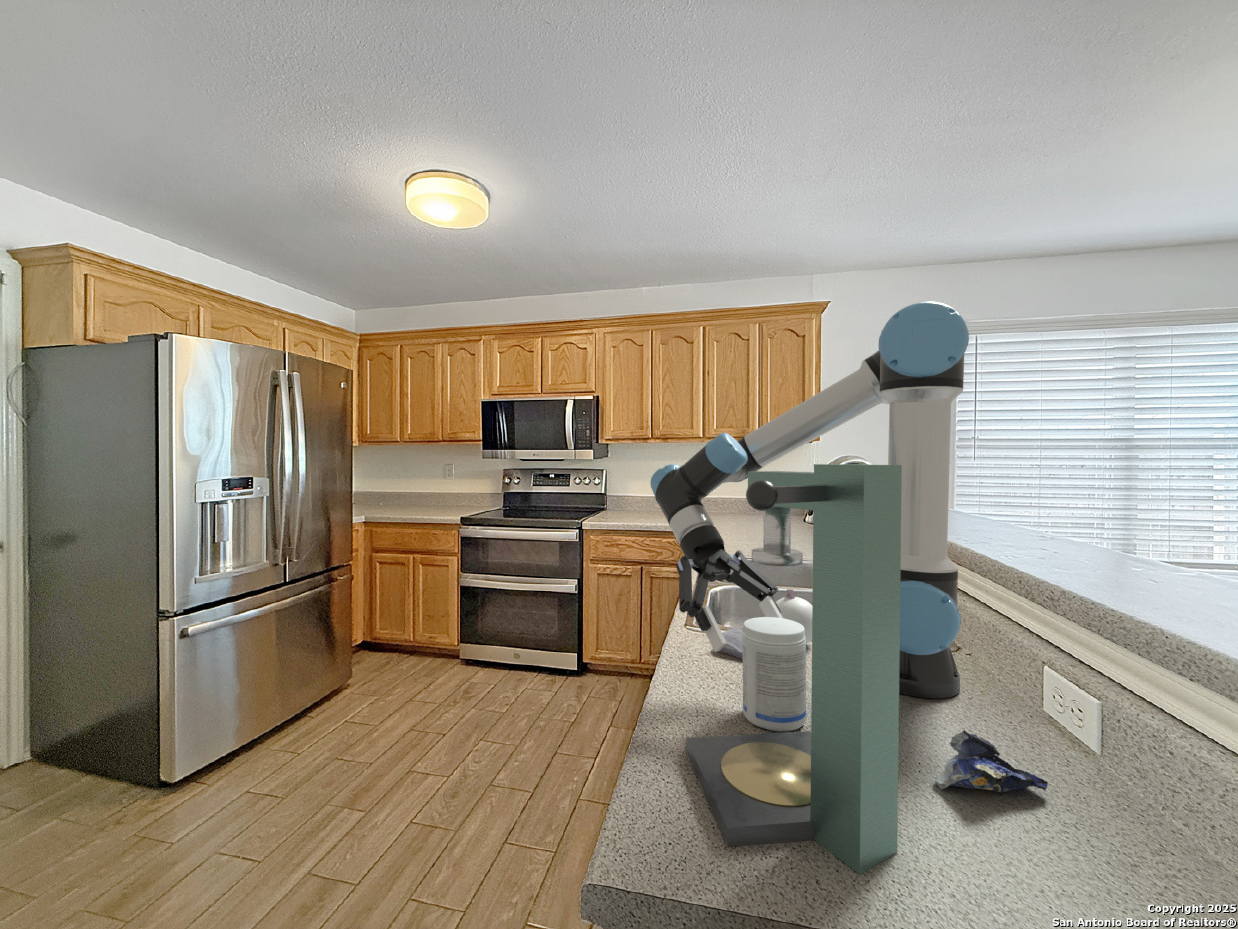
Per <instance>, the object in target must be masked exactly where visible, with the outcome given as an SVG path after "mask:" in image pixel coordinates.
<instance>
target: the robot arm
mask: <svg viewBox="0 0 1238 929" xmlns="http://www.w3.org/2000/svg"><path fill="white" fill-rule="evenodd" d="M969 343H970V333H969V329H968V326H967V324H966V321H965V320H964V317H963V316H962V315H961V314H960V313H959V312H958V310H956V309H954V308H953V307H952V306H950V305H947V304H945V303H941V302H938V301H937V302H936V301H921V302H916V303H911V304H910V305H907V306H905V307H903V308H901V309H900V310H898V311H897V312H895V313H893V315H892V316H891V317H890V318H889V319H888V320H887V322H886V323H885V325H884V327H883V328H882V330H881V333H880V335H879V338H878V350H876V352H874V353H873V354H872V355H870V356H868V357H866V358H865V359H863V360H862V361H861V364H860V367H859V369H857V370H855V371H853V372H852V373H850V374H849V375H847V376H845V377H843V378H841V379H840V380H838V381H837V382H835V383H833V384H832V385H830V386H828V387H826V388H824V389H823V390H821V391H819V392H817V393H816V394H814V395H813V396H811V397H809V398H808V399H806V400H804V401H802V402H801V403H799V404H797V405H795V406H793V407H792V408H790V409H789V410H787V411H786V412H784V413H782V414H780V415H779V416H777V417H775V418H774V419H772V420H770V421H768V422H767V423H765V424H763V425H761V426H760V427H758V428H756V429H754V430H753V431H751V432H749V433H748V434H746V435H744V436H743V437H742V438H740V439H739V438H738V439H735V438H734V437H733V436H732V435H730V434H729V433H727V432H721V433H719V434H718V435H717V436H715V437H714V438H713V439H710V440H709V441H707V443H706V445H704V446H703V447H702V448H700V450H699V451H698V452H696V454H694V455H693V456H692V457H691V458H689V459H688V460H687V461H686V462H685V463H684V464H683V465H682V466H680V465H678V464H675V463H672V464H666V465H664V467H661V468H657V469H656V471H655V472H654V473H653V474H652V476H651V477H650V483H649V484H650V488H651V490H652V492H653V495H654V498H655V502H656V503H657V504H658V505H659V507H660V509H661V511H662V514H663V515H664V517H665V519H666V521H667V523H668V525H669V527H670V529H671V531H672V533H673V535H674V537H675V539H676V542H677V543H678V544H679V547H680V549H681V550H682V553H683V555H682V556H681V557H680V559H679V560H678V561H677V563H676V564H675V567H676V569H677V573H678V575H679V576H678V590H679V592H678V599H679V600H678V601H679V602H678V605H679V606H678V608H679V611H680V613H683V614H684V613H687V615H688V616H689V617H690V618H695V619H694V620H695V621H696V623H697V626H698V627H699V630H701V631H702V632H705V635H706V637H707V639H708V640H709V644H710V645H711V647H712V649H713V651H714V653H717V652H721V651H720V649H721V648H722V647H723V646H724V645H725V644H726V643H727V642H726V640H725V638H724V636H723V634H722V633H723V632H722V630H721V628H720V626H719V625H718V623H717V621H716V619H715V617H714V615H713V612H712V611H711V609H710V607H709V605H705V606H704V602H705V600H706V599H705V598H706V595H707V589H708V585H709V582H710V583H713V582H715V581H721V582H722V581H727V582H728V583H733V584H734V585H736V586H738V587H739V588H740V589H741V590H743V591H745V592H746V593H748V594H749V595H751V596H752V597H754V598H755V599H757V600H758V601H760V602H759V604H758V606H759V608H760V609H761V611H762V613H763V615H764V617H775V618H783V617H782V615H781V610H780V608H779V607H778V606H777V603H776V600H775V598H774V595H775V594H776V593H778V592H779V587H778V586H776V584H774V582H772V580H770V579H769V578H768V577H767V576H765V575H764V573H762V572H761V571H760V570H759V569H758V568H757V567H755V565H754V564H753V563H751V562H750V561H749V560H748V559H747V557H746V556H745V555H744V553H743V551H742V550H739V549H738V550H737V551H735V553H732V554H730V553H728V552H727V550H726V548H725V542H724V539H723V538H722V536H721V534H720V532H719V531H718V529H717V527H716V526H715V524H714V522H713V520H712V518H711V517H710V514H709V513H708V511H707V509H706V508H705V506H704V504H703V502H702V500H703V499H705V498H706V497H707V496H709V495H710V494H711V493H712V492H713V491H714V490H716V489H717V488H718V487H720V486H721V485H722V484H726V483H739V482H742V481H744V480H748V471H761V469H762V468H764V467H766V466H768V465H771V463H774V462H775V461H777V460H780V459H781V458H783V457H784V456H787V455H789V454H790V453H792V452H794V451H796V450H797V449H800V448H802V447H803V446H805V445H806V444H809V443H810V442H812V441H814V440H817V438H819V437H822V436H823V435H825V434H827V433H828V432H830V431H832V430H834V429H836V428H838V427H840V426H842V425H844V424H845V423H847V422H848V421H851V420H853V419H855V418H857V417H858V416H859V415H862V414H864V413H866V412H867V411H869V410H871V409H873V408H875V407H877V406H878V405H880V404H886V405H888V406H889V411H888V412H889V413H888V414H889V416H888V421H889V422H888V453H887V458H888V459H887V461H888V462H887V465H902V487H901V573H900V659H899V694H903V695H906V696H911V697H917V698H925V699H945V698H951V697H952V698H953V697H954V696H957V695H958V694H959V693H960V691H961V677H960V674H959V672H958V668H957V664H956V661H955V659H954V656H953V653H952V651H951V647H950V646H951V645H952V644H953V643H954V642H955V641H956V639H957V636H958V635H959V632H960V630H961V624H962V617H961V614H960V610H959V608H958V587H959V581H958V580H959V566H958V565H957V564H955V563H954V562H953V561H952V560H951V558H949V555H948V532H949V499H950V498H949V497H950V496H949V494H950V493H949V492H950V464H951V462H950V457H951V430H952V428H951V427H952V426H951V424H952V421H951V420H952V403H953V401H955V399H957V398H958V397H959V396H961V394H962V393H963V392H964V379H965V378H964V374H965V373H964V371H965V353H966V351H967V347H969V346H968V345H969ZM693 571H694V572H696V574H697V578H696V585H695V590H694V593H693V580H692V579H693V575H692V573H693ZM731 571H732V572H731ZM703 606H704V607H703Z"/></svg>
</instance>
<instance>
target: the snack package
mask: <svg viewBox="0 0 1238 929" xmlns="http://www.w3.org/2000/svg"><path fill="white" fill-rule="evenodd" d="M949 745H950V747H952V749H953V750H954V751H956V752H957V754H955V755H953V756H954V757H951V758H949V759H948V761H947V763H946V764H945V766H944V769H943V770H944V771H943V772H942V773H941V774H940V775H939V777H938V779H937V778H936V779H935V780H934V783H935V784H936V786H938V787H939V790H941V791H942V790H946V789H947V788H948V787H949V786H951V787H959V788H960V787H961V788H965V789H966V788H968V789H971V790H972V789H977V790H983V791H984V790H986V791H991V792H996V793H997V792H998V793H1005V792H1010V791H1014V790H1019V789H1024V788H1030V787H1034V788H1037V789H1039V790H1041V789H1042V790H1043V791H1047V788H1048V784H1049V783H1048V781H1047V780H1044V779H1043V778H1040V777H1038V776H1037V775H1036V774H1032V773H1030V772H1028V771H1027V770H1022V769H1018V768H1014V767H1013V765H1012V766H1011V764H1010V763H1008V762H1006V761H1005V760H1004V759H1003V758H1001V757H1000V752H999V751H998V750H997V748H996V746H995V745H994V744H992V743H991V742H990V741H989V740H986V739H984V738H983V737H978V735H977V734H973V733H969V732H967V731H966V730H965V729H964V730H963V731H961V732H960V733H956V734H955V735H953V736H952V737H951V741H949ZM945 781H946V782H945ZM1040 796H1041V797H1043V795H1042V794H1040Z"/></svg>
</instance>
